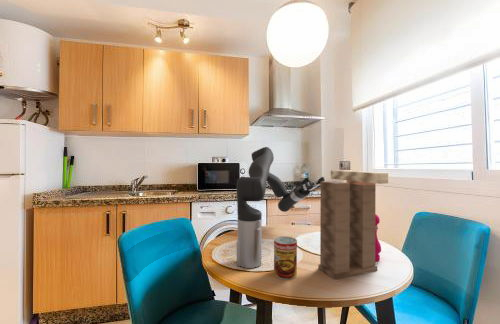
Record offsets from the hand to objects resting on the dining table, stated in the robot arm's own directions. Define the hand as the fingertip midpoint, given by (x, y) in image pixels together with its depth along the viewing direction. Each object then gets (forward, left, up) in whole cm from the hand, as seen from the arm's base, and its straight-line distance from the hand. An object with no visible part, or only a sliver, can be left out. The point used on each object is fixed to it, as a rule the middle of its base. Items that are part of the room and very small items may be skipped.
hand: (316, 178), depth 117 cm
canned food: (-17, -32, -31) cm, 48 cm away
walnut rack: (+6, -27, -31) cm, 41 cm away
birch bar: (+10, -22, +1) cm, 25 cm away
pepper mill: (+19, -16, -31) cm, 40 cm away
